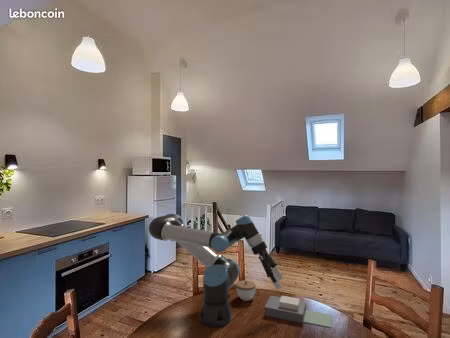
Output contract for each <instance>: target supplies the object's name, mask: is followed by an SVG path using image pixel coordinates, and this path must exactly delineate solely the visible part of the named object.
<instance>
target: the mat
mask: <svg viewBox="0 0 450 338" xmlns="http://www.w3.org/2000/svg"><path fill="white" fill-rule="evenodd" d="M303 323H305V324H311V325H315V326H320V327H324V328H331V329H332V314H328V313H323V312H318V311H312V310H307V309H306V311H305V316H304V320H303Z"/></svg>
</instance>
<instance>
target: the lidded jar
mask: <svg viewBox="0 0 450 338" xmlns="http://www.w3.org/2000/svg"><path fill="white" fill-rule="evenodd" d="M235 284H236V285H235V286H236V294H237V296H238V297H239V298H240V299H241V300H242V301H244V302H245V301H246V302H247V301H251V300H252V299H253V297H254V296H255V294H256V286H257V285H256V283H255V282H254V281H252V280H248V279H247V280H239V281H237V282H236V283H235Z"/></svg>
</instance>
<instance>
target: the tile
mask: <svg viewBox="0 0 450 338" xmlns="http://www.w3.org/2000/svg"><path fill="white" fill-rule="evenodd" d="M280 297H281V299H280V301H279V307H284V308H289V309H294V310H298V309H299V306H300V301H301V298H298V297H292V296H286V295H281V296H280Z"/></svg>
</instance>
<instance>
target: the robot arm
mask: <svg viewBox="0 0 450 338" xmlns="http://www.w3.org/2000/svg"><path fill="white" fill-rule="evenodd" d="M148 232H149V235H150V237H152V238H154V240H155V239H156V240H160V241H163V242H165V241H166V242H167V241H168V240H170V241H171V242H176V243H178V245H180V246H181V248H183V249H184V250H185V251H187V252H188V253H189V254H190V255H191V256H193V257H194V259H196V260H197V261H198V262H199V263H201V264H202V266H204V267H205V269H204V271H203V276H202V290H203V291H202V293H203V294H202V298H203V300H202V305H201V308H200V311H199V321H200V323H201V324H202V323H203V324H202V325H204V326H207V327H212V328H217V327H218V328H219V327H223V326H226V325H228V324H229V323H230V322H231V321H232V311H231V308H230V305H229V300H228V291H229V290H228V288H229V287H230V286H232V283H234V284H235V282H236V281H237V279H238V277H239V275H240V268H239V265H238V263H237V261H235V260H234V259H231V258H226V257H225V256H224V255H222V254H217V253H223V252H225V251H227V249H228V248H230V247H232V246H233V245H234V244H236V243H237V242H240V241H241V240H243V239H245V241H246V243H247V244H248V246H249V247H250V249H251V251H252V253H253V255H255V256H256V255H259V256H258V259H259V260H260V263H261V265H262V268H263V269H264V272H265V274H266V277H267V278H269V279H270V281H271V283H272V284H273V286H274V288H275V289H276V291H277V290H279V289H281V288H283V286H282V284H281V283H280V280H283V279H284V277H283V275H282V273H281V272H280V270H279V269H278V267H277V266H278V263H276V262H275V261H274V259H273V258H272V256H271V255H270V254H269V253H268V252H269V251H268V250H267V248H268V245H267V244H266V242H265V241H264V240H263V237H262V234H260V233H259V231H258V229H257V227H256V225H255V224H254V222H253V220H252V219H251V217H250V216H249V214H243V216H241V217H239V218H238V219H236V220H235V225H234V226H232V227H230V228H229V229H227V230H225V231H224V232H222V233H219V232H214V231H209V230H203V229H196V228H191V227H186V224H185V223H184V220H183V218H182V217H181V216H180V215H179V214H175V213H168V214H166V215H163V216H162V215H161V216H156V217H155V218H153V219H152V220H151V221H150V222H149V225H148Z"/></svg>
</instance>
